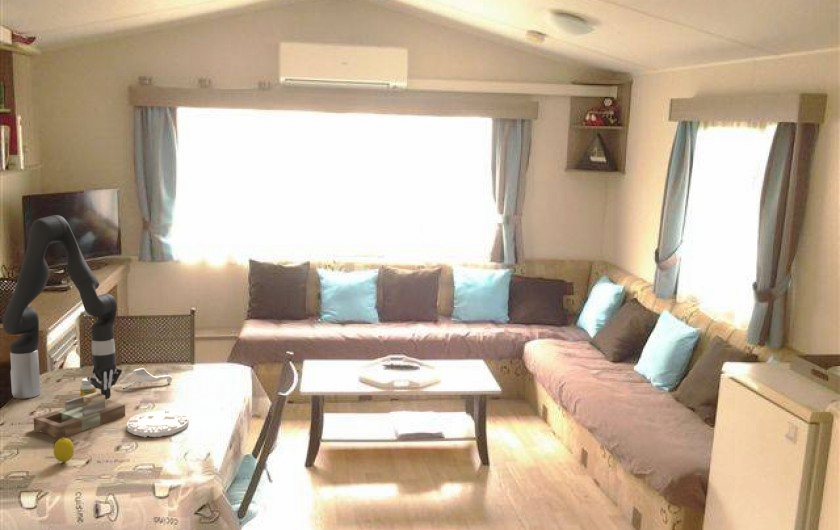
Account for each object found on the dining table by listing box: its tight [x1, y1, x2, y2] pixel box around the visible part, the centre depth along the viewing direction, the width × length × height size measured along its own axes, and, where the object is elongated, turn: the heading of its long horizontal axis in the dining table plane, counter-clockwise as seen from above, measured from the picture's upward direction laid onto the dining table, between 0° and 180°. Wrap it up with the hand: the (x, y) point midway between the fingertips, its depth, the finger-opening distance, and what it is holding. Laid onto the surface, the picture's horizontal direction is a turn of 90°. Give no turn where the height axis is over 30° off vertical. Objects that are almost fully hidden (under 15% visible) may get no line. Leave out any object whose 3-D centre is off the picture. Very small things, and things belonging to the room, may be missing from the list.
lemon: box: [53, 437, 75, 464], centre depth 225 cm, size 6×6×8 cm
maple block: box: [83, 391, 106, 406], centre depth 260 cm, size 5×5×4 cm
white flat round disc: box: [126, 409, 190, 439], centre depth 255 cm, size 20×20×3 cm
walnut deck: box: [33, 395, 126, 440], centre depth 256 cm, size 14×25×7 cm, turn 149°
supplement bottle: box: [79, 377, 97, 397], centre depth 273 cm, size 5×5×10 cm
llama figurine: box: [118, 367, 173, 389], centre depth 295 cm, size 2×11×18 cm
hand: (106, 398), depth 264 cm, fingers closed
